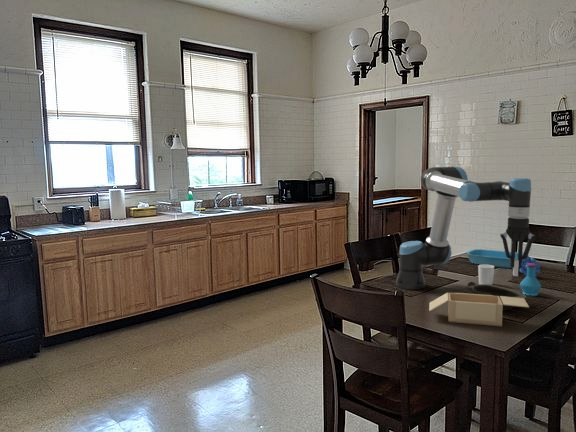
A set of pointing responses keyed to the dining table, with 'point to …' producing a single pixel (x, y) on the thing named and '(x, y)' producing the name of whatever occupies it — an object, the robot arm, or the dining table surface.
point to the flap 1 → (438, 301)
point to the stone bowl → (495, 292)
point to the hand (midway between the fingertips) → (515, 275)
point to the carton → (475, 309)
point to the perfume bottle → (530, 281)
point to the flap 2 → (514, 301)
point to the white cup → (486, 274)
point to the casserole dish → (490, 257)
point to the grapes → (526, 261)
